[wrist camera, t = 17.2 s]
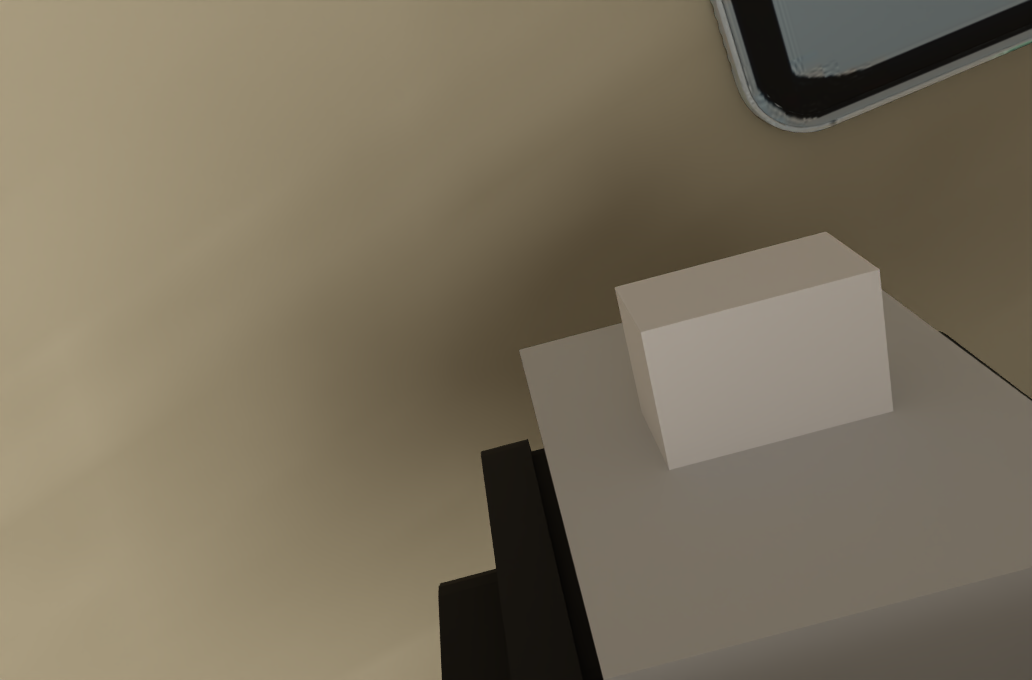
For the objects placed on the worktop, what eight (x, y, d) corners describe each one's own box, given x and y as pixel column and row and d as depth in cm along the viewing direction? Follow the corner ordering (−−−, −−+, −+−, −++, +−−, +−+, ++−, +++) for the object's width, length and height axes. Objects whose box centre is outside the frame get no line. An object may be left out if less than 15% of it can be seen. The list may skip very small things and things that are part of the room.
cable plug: (834, 154, 10) (1203, 341, 5) (887, 628, 12) (1172, 1039, 8) (490, 245, 10) (558, 512, 5) (611, 700, 12) (729, 1156, 8)
